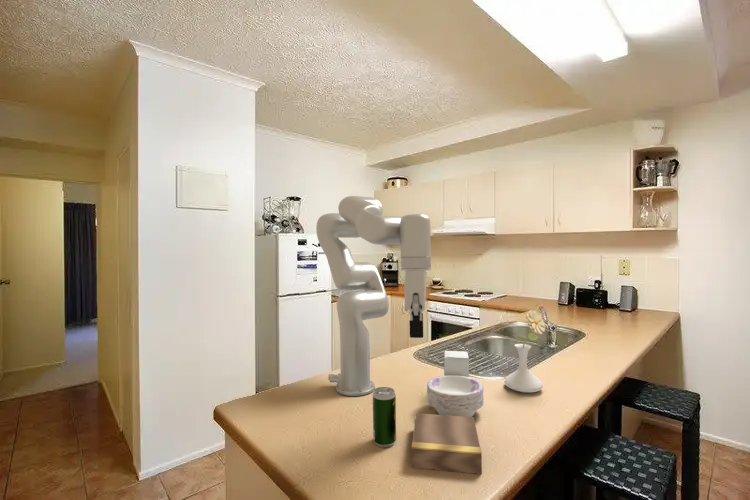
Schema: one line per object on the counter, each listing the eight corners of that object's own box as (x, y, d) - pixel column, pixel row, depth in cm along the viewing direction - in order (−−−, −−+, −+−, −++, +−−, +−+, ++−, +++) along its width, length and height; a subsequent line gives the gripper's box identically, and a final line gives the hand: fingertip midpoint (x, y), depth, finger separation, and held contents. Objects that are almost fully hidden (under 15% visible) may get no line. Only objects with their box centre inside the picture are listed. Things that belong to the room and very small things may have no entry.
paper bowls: (424, 400, 107) (424, 373, 107) (475, 400, 107) (475, 373, 107) (430, 425, 92) (430, 394, 92) (490, 426, 91) (490, 394, 91)
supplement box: (469, 400, 107) (469, 358, 106) (444, 398, 108) (443, 356, 108) (468, 390, 114) (467, 351, 114) (444, 389, 115) (444, 350, 115)
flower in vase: (517, 397, 108) (517, 314, 108) (497, 383, 119) (496, 308, 119) (555, 393, 111) (555, 312, 111) (532, 380, 122) (531, 306, 122)
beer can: (376, 449, 81) (375, 396, 81) (371, 437, 87) (370, 387, 86) (398, 446, 82) (398, 394, 82) (392, 434, 88) (391, 385, 88)
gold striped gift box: (411, 467, 74) (411, 446, 74) (416, 429, 90) (416, 412, 90) (481, 474, 72) (481, 452, 72) (473, 433, 88) (473, 415, 88)
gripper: (402, 263, 99) (403, 325, 99) (398, 266, 82) (399, 341, 82) (430, 262, 98) (430, 325, 98) (432, 265, 81) (433, 341, 81)
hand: (416, 332), depth 90 cm, fingers open, 9 cm apart
